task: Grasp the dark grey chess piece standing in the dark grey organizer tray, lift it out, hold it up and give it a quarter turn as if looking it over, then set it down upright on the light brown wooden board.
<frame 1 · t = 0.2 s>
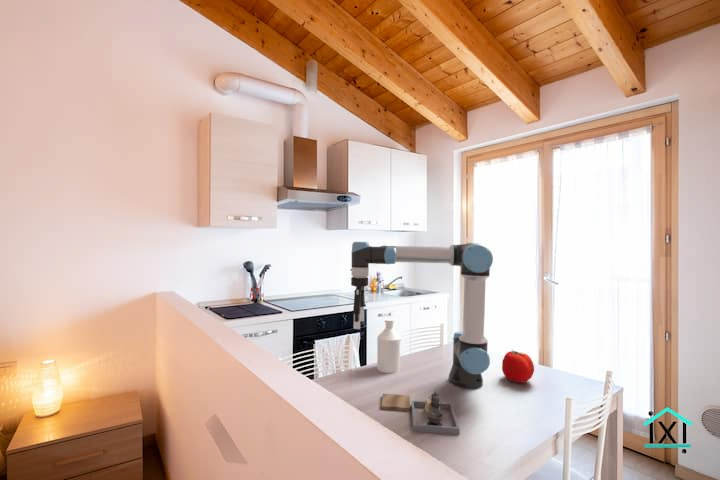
hand: (358, 324, 156), 28 cm above the table, fingers open, 13 cm apart
tomato: (517, 381, 167), on the table
tray: (433, 418, 131), on the table
light brown wooden board: (395, 403, 142), on the table
dark grey chess piece: (434, 425, 127), resting in tray
beech block: (432, 412, 136), resting in tray
bottle: (388, 369, 180), on the table
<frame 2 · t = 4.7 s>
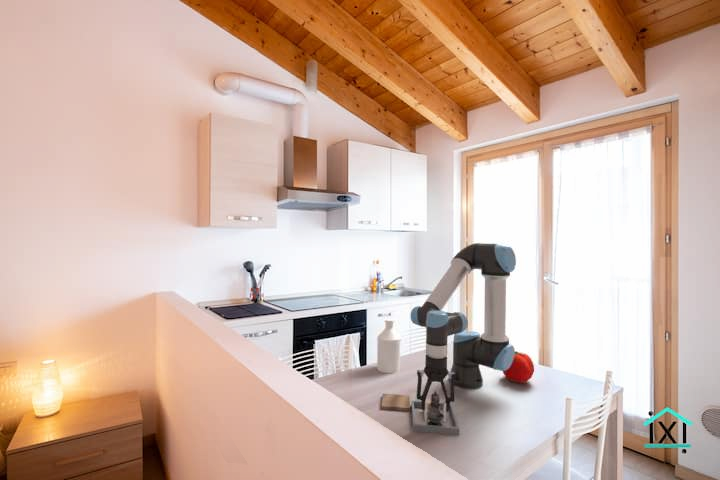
hand: (434, 419, 127), 2 cm above the table, fingers closed on dark grey chess piece, 6 cm apart
dark grey chess piece: (434, 425, 127), resting in tray, touching gripper
everything else where it was.
when the fingers open (4 cm above the table, at t = 11.9 s): dark grey chess piece drops 1 cm, resting on light brown wooden board.
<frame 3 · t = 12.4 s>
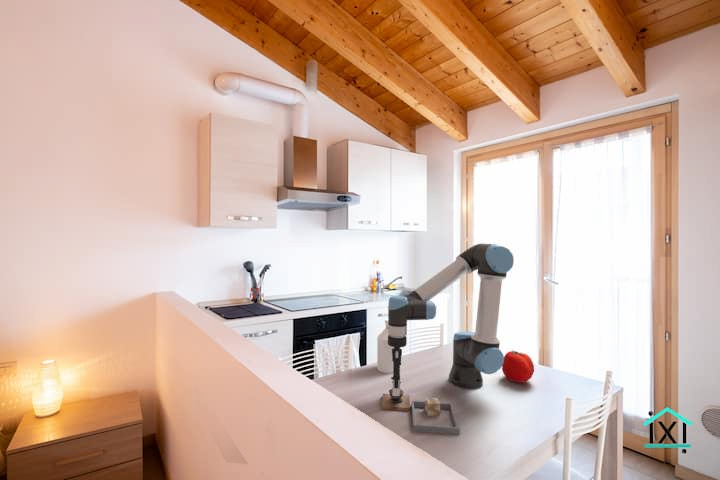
hand: (396, 388, 142), 6 cm above the table, fingers open, 13 cm apart
dark grey chess piece: (396, 401, 142), point 1 cm above the table, touching light brown wooden board
everything else where it was.
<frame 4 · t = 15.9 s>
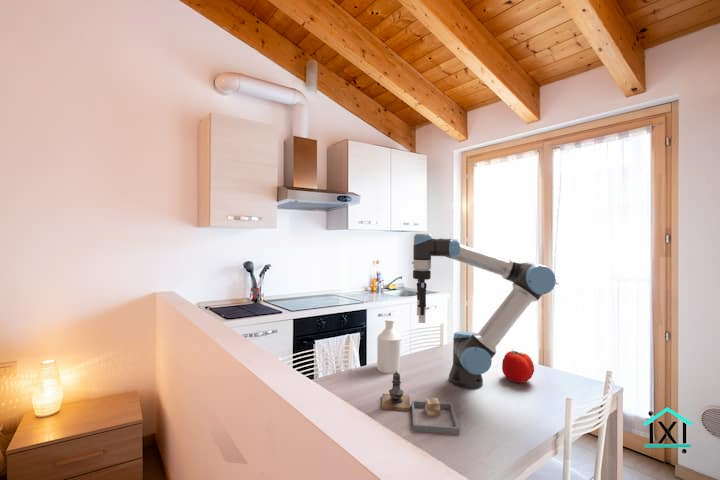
hand: (420, 319, 153), 32 cm above the table, fingers open, 13 cm apart
nothing on the table moved.
at the end: dark grey chess piece inside the target area on the light brown wooden board (0.0 cm from its centre), point 1.0 cm above the light brown wooden board's base; dark grey chess piece tilted 0°; the gripper is holding nothing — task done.
